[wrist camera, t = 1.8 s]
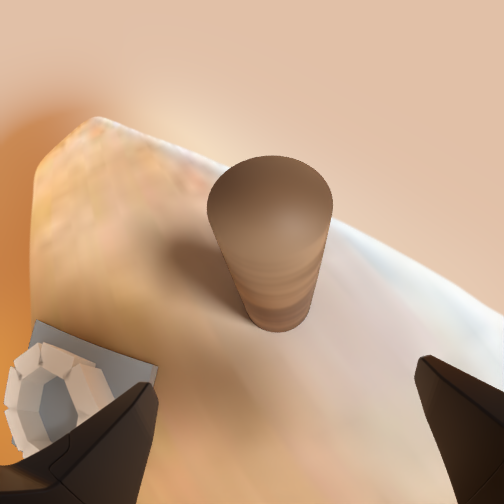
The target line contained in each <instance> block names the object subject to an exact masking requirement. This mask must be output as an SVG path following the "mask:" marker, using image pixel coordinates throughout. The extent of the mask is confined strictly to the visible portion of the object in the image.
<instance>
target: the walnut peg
mask: <svg viewBox="0 0 504 504" xmlns="http://www.w3.org/2000/svg"><path fill="white" fill-rule="evenodd" d="M332 210H333V199H332V194H331V191H330V189H329V186H328V185H327V183H326V181H325V180H324V178H323V177H322V176H321V175H320V174H319V173H318V172H317V171H316V170H314V169H313V168H312V167H310V166H309V165H307V164H305V163H303V162H301V161H299V160H296V159H293V158H289V157H283V156H261V157H255V158H252V159H248V160H246V161H243V162H240V163H238V164H236V165H235V166H233V167H231V168H230V169H228V170H227V171H226V172H225V173H224V174H223V175H222V176H220V177H219V179H218V180H217V181H216V182H215V184H214V186H213V187H212V189H211V192H210V194H209V197H208V201H207V215H208V220H209V222H210V225H211V227H212V230H213V232H214V235H215V237H216V240H217V242H218V244H219V247H220V249H221V252H222V254H223V257H224V259H225V261H226V264H227V266H228V268H229V271H230V273H231V276H232V278H233V280H234V283H235V285H236V287H237V290H238V292H239V294H240V297H241V299H242V301H243V304H244V306H245V308H246V311H247V313H248V315H249V317H250V319H251V320H252V321H253V322H254V323H255V324H256V325H257V326H258V327H260V328H262V329H264V330H266V331H270V332H286V331H289V330H291V329H294V328H295V327H297V326H298V325H299V324H301V322H302V321H303V320H304V319H305V318H306V316H307V314H308V312H309V309H310V305H311V301H312V297H313V294H314V290H315V286H316V282H317V278H318V274H319V269H320V265H321V261H322V257H323V253H324V248H325V244H326V239H327V235H328V230H329V226H330V221H331V216H332Z"/></svg>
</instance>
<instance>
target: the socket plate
mask: <svg viewBox="0 0 504 504" xmlns="http://www.w3.org/2000/svg"><path fill="white" fill-rule="evenodd" d="M14 365H15V367H12V366H10V371H9V376H8V381H7V386H6V392H5V399H4V405H6V406H7V407H8V408H9V409H7V410H6V411H4V412H5V415H6V418H7V421H8V424H9V427H10V430H11V433H12V444H13V445H15V446H16V447H17V449H18V451H22V452H23V458H24V459H25V458H27V457H29V456H31V455H33V454H34V453H36V452H38V451H40V450H42V449H44V448H45V447H47V446H49V445H51V444H52V443H54V442H55V441H57V440H58V439H60V438H61V437H63V436H64V435H66V434H67V433H70V431H71V430H73V429H74V428H76V427H77V426H79V425H80V424H81V423H83V422H84V421H86V420H87V419H88V418H90V417H91V416H93V415H94V414H95V413H97V412H98V411H100V410H101V409H102V408H104V407H105V406H107V405H108V404H109V403H111V402H112V401H113V400H115V399H116V398H118V397H119V396H120V395H122V394H123V393H124V392H126V391H127V390H128V389H130V388H131V387H132V386H134V385H135V384H136V383H138V382H150V383H151V384H152V386H154V382H155V378H156V374H157V370H158V366H155V365H152V364H149V363H146V362H143V361H140V360H137V359H134V358H131V357H128V356H125V355H122V354H119V353H116V352H113V351H111V350H108V349H105V348H102V347H100V346H97V345H95V344H92V343H89V342H87V341H84V340H82V339H80V338H77V337H75V336H72V335H70V334H68V333H65V332H63V331H61V330H58V329H56V328H54V327H52V326H50V325H47V324H45V323H43V322H41V321H39V320H37V319H36V322H35V326H34V329H33V333H32V336H31V340H30V343H29V347H28V350H27V351H26V352H24V353H23V354H22V355H20V356H19V357H18V358H16V359H15V360H14Z"/></svg>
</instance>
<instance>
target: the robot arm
mask: <svg viewBox="0 0 504 504" xmlns="http://www.w3.org/2000/svg"><path fill="white" fill-rule="evenodd" d="M414 379H415V384H416V387H417V390H418V393H419V396H420V400H421V403H422V406H423V410H424V413H425V416H426V419H427V421H428V424H429V426H430V428H431V431H432V433H433V436H434V438H435V441H436V443H437V446H438V448H439V451H440V454H441V456H442V459H443V462H444V464H445V467H446V470H447V473H448V475H449V478H450V481H451V484H452V487H453V490H454V493H455V496H456V499H457V502H458V504H504V392H503V391H501V390H499V389H497V388H495V387H493V386H491V385H489V384H487V383H485V382H483V381H481V380H479V379H477V378H475V377H473V376H471V375H469V374H467V373H465V372H463V371H461V370H459V369H457V368H455V367H453V366H451V365H450V364H448V363H446V362H444V361H442V360H440V359H438V358H436V357H434V356H432V355H426V356H422V357H420V358H419V360H418V363H417V367H416V371H415V376H414ZM157 411H158V398H157V395H156V393H155V391H154V388H153V386H152V384H151V383H150V382H138V383H136V384H135V385H134V386H132V387H131V388H130V389H128V390H127V391H126V392H124V393H123V394H122V395H120V396H119V397H118V398H116V399H115V400H113V401H112V402H111V403H109V404H108V405H107V406H105V407H104V408H102V409H101V410H100V411H98V412H97V413H95V414H94V415H93V416H91V417H90V418H88V419H87V420H86V421H84V422H83V423H81V424H80V425H79V426H77V427H76V428H74V429H73V430H71V431H70V433H67V434H66V435H64V436H63V437H61V438H60V439H58V440H57V441H55V442H54V443H52V444H51V445H49V446H47V447H45V448H44V449H42V450H40V451H38V452H36V453H34V454H33V455H31V456H29V457H27V458H25V459H23V460H21V461H19V462H17V463H15V464H12V465H6V466H0V504H136V501H137V497H138V493H139V489H140V486H141V482H142V478H143V474H144V471H145V467H146V463H147V460H148V456H149V452H150V449H151V445H152V441H153V436H154V430H155V423H156V417H157Z"/></svg>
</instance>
